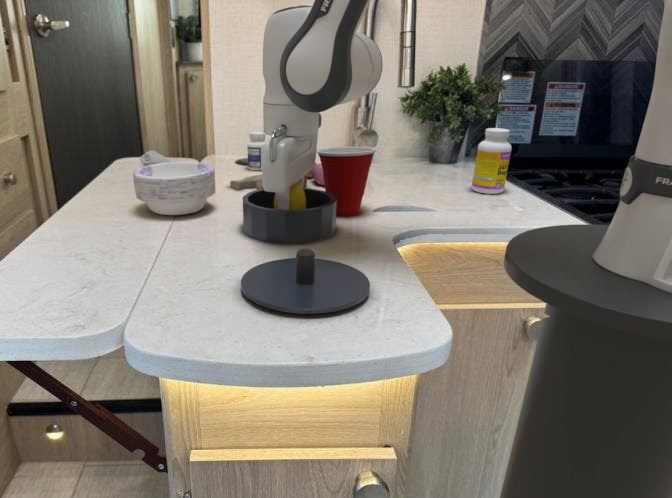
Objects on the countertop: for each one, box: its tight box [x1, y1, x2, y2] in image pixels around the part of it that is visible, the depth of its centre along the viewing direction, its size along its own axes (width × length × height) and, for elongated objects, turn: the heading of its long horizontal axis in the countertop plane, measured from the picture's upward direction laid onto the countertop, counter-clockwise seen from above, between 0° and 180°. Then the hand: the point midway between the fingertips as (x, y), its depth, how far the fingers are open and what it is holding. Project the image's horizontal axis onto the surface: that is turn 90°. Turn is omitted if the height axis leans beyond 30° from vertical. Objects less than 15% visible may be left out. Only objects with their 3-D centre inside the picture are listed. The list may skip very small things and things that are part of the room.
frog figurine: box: [139, 149, 171, 167], centre depth 125 cm, size 6×7×7 cm
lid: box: [240, 248, 371, 315], centre depth 71 cm, size 17×17×5 cm
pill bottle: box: [246, 131, 267, 171], centre depth 137 cm, size 5×5×9 cm
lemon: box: [274, 183, 306, 210], centre depth 93 cm, size 6×6×8 cm
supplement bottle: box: [471, 127, 513, 195], centre depth 115 cm, size 7×7×13 cm
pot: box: [242, 187, 337, 245], centre depth 94 cm, size 16×16×5 cm
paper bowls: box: [132, 161, 216, 216], centre depth 104 cm, size 15×15×8 cm
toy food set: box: [229, 161, 325, 191], centre depth 124 cm, size 26×16×4 cm, turn 134°
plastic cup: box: [316, 146, 377, 217], centre depth 101 cm, size 11×11×12 cm
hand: (290, 206), depth 93 cm, fingers closed on lemon, 5 cm apart
